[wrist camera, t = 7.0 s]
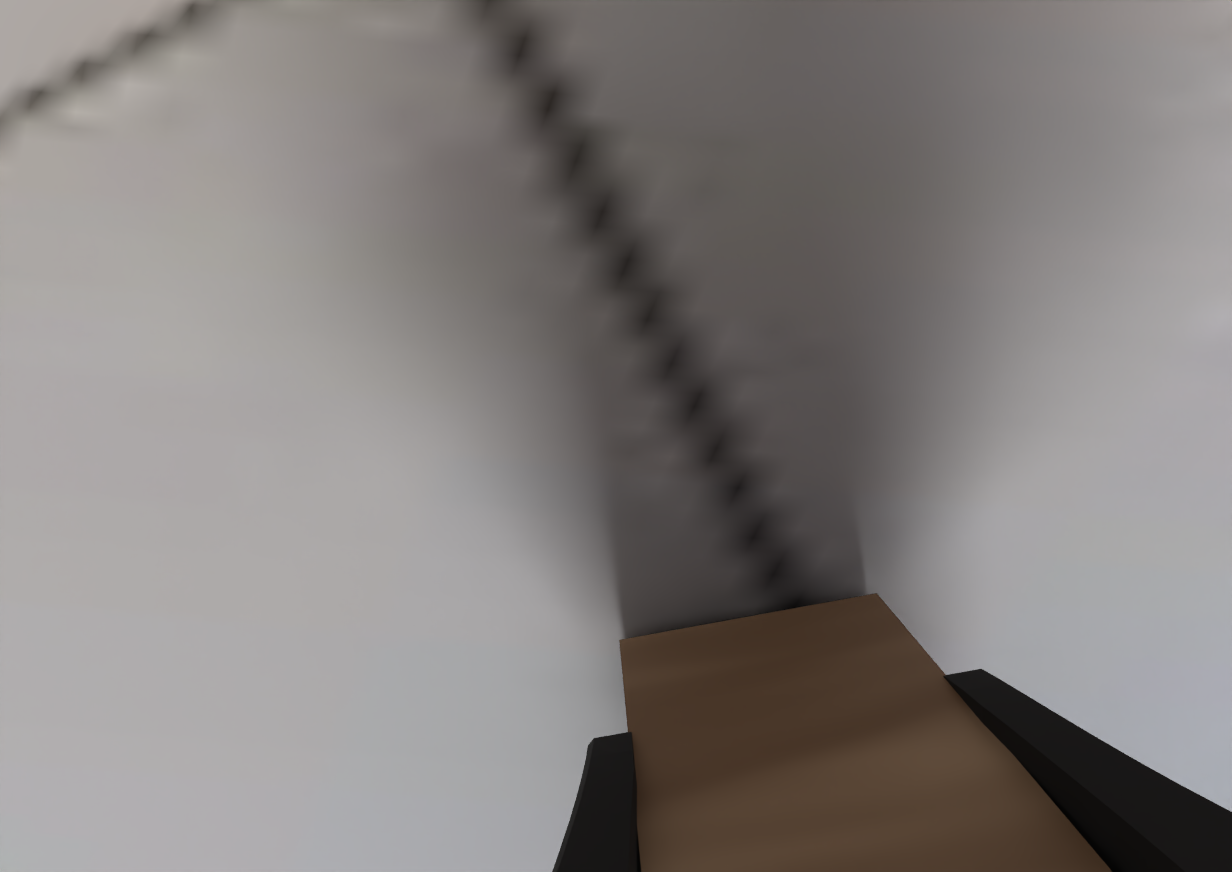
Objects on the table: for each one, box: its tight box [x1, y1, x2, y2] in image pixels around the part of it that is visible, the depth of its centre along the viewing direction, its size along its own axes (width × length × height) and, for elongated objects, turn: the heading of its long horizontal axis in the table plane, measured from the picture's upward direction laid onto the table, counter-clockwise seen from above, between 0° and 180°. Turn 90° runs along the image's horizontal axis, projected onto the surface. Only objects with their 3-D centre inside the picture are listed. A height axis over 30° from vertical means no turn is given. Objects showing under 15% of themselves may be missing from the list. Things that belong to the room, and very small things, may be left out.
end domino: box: [619, 593, 1112, 872], centre depth 9 cm, size 2×5×7 cm, turn 100°
